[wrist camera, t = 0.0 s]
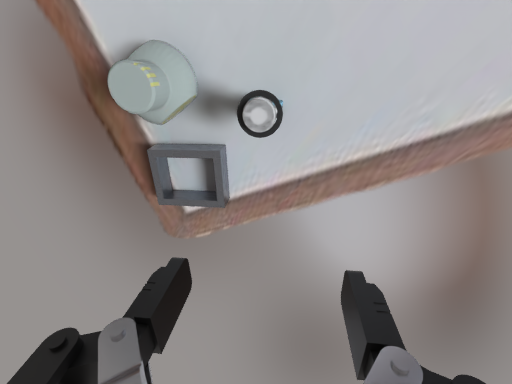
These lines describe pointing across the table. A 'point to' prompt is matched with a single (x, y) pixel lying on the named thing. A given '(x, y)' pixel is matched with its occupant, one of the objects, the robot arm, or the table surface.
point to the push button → (260, 113)
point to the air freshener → (153, 82)
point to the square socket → (185, 197)
